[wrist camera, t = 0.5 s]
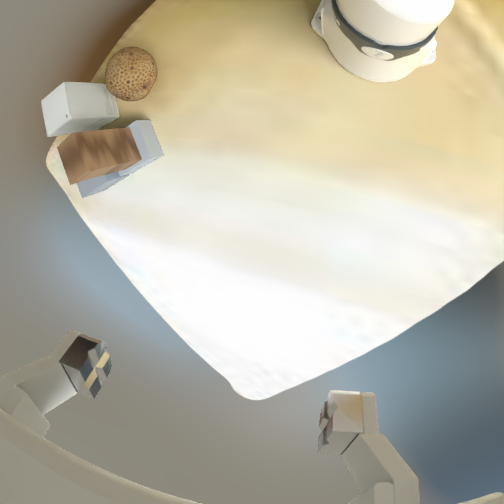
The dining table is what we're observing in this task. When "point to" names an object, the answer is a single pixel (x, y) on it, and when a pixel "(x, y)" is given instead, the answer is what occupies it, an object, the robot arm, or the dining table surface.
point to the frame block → (98, 153)
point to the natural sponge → (130, 74)
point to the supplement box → (78, 108)
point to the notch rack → (148, 152)
